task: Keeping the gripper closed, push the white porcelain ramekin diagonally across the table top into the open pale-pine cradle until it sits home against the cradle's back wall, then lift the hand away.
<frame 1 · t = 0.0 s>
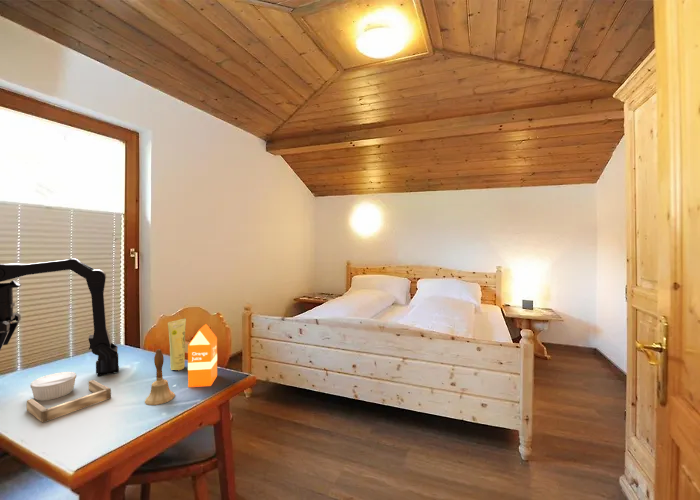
hand: (1, 348, 106), 15 cm above the table, fingers open, 9 cm apart
ramekin: (54, 394, 105), on the table
cradle: (69, 403, 99), on the table
orange juice: (203, 381, 115), on the table
hand bell: (160, 399, 102), on the table
tube: (177, 369, 126), on the table
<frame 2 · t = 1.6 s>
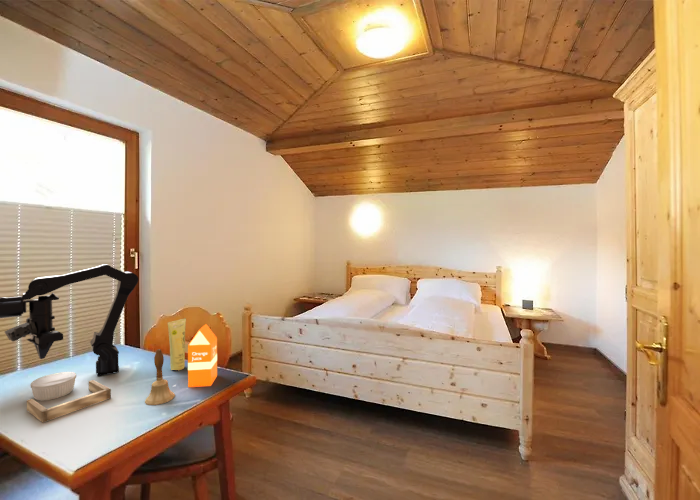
hand: (42, 358, 110), 10 cm above the table, fingers closed
nothing on the table moved.
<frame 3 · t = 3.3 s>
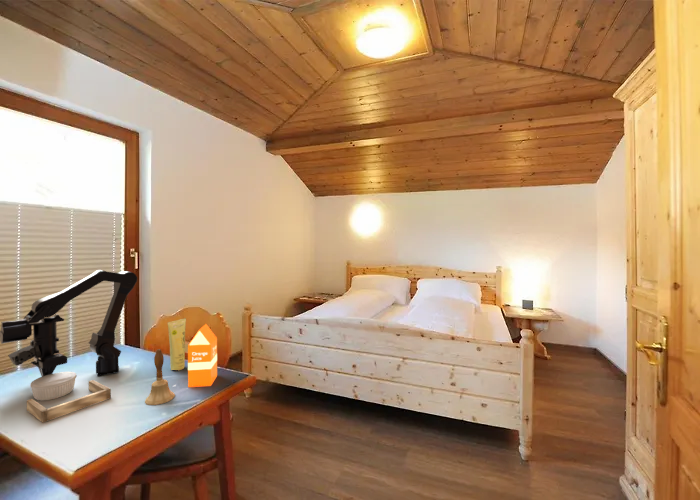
hand: (45, 381, 109), 3 cm above the table, fingers closed
ramekin: (54, 394, 105), on the table, touching gripper
everything else where it was.
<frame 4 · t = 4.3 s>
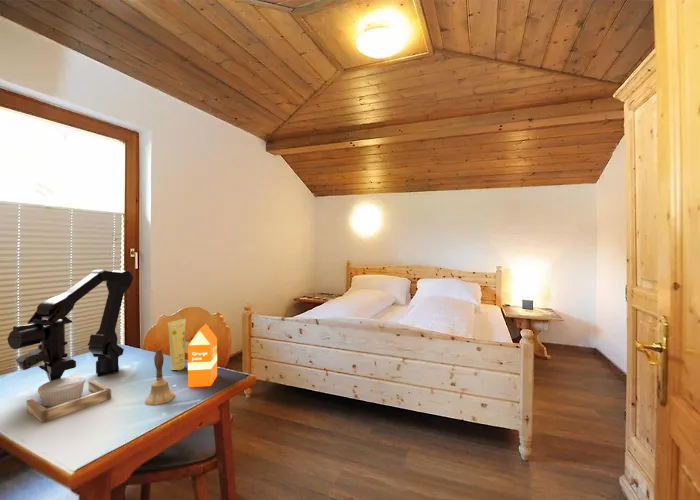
hand: (53, 386, 105), 3 cm above the table, fingers closed
ramekin: (62, 400, 101), on the table, touching gripper
everything else where it was.
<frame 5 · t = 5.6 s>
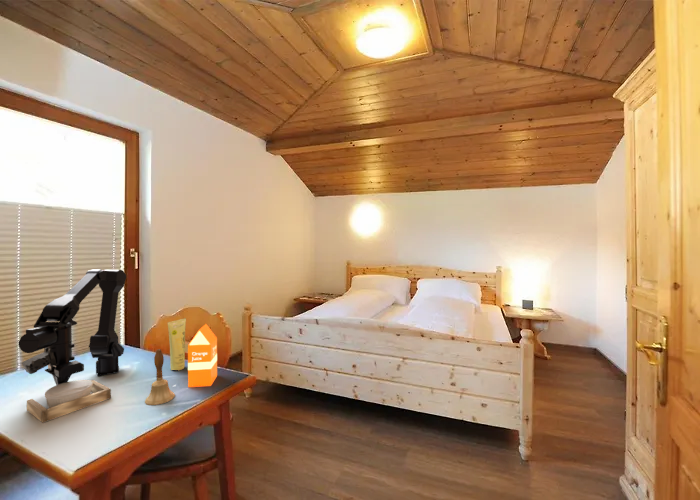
hand: (60, 390, 102), 2 cm above the table, fingers closed
ramekin: (69, 404, 99), on the table, touching gripper
everything else where it was.
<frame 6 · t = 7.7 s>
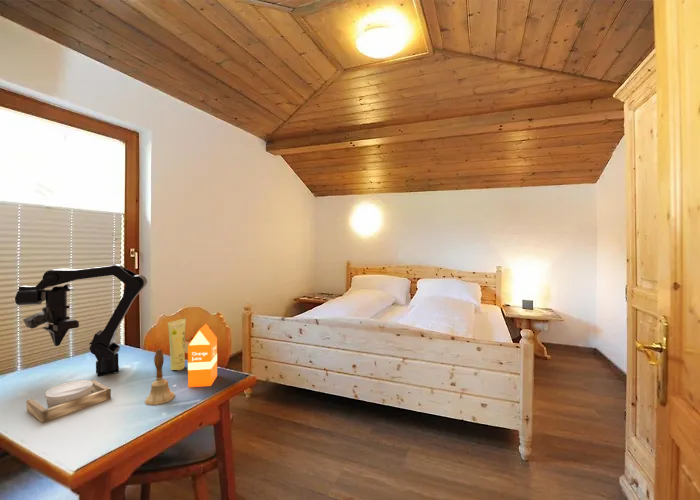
hand: (56, 345, 117), 12 cm above the table, fingers closed
ramekin: (69, 405, 99), on the table
everything else where it was.
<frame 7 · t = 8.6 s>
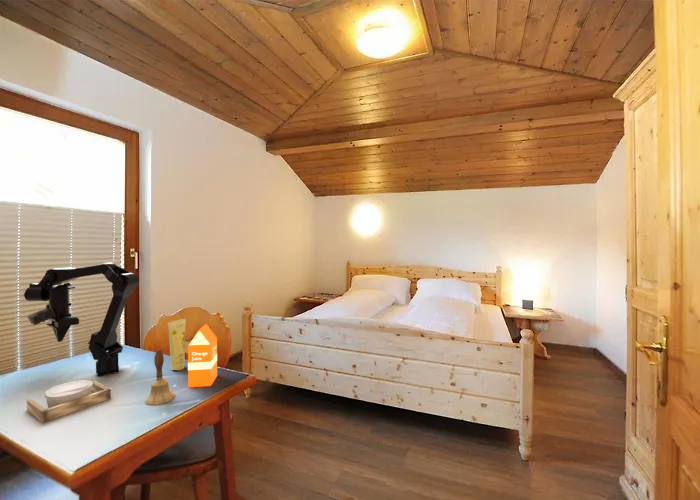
hand: (59, 341, 122), 12 cm above the table, fingers closed
nothing on the table moved.
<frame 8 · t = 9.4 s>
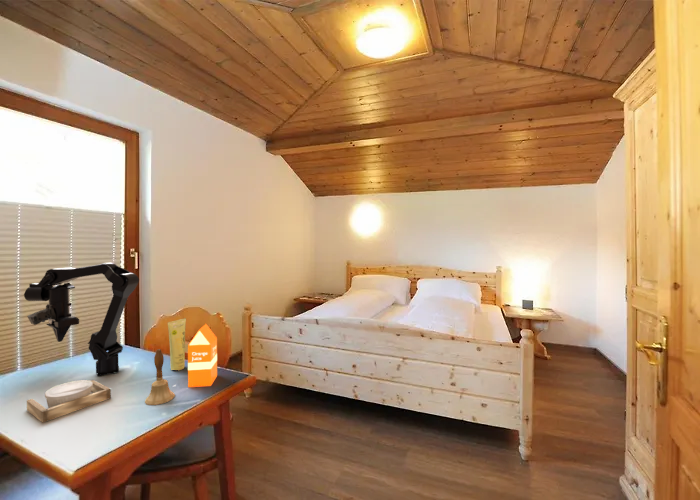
hand: (59, 341, 122), 12 cm above the table, fingers closed
nothing on the table moved.
at the end: ramekin 0.5 cm from the cradle (horizontally); ramekin tilted 0°; ramekin moved 12.7 cm from its start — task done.
